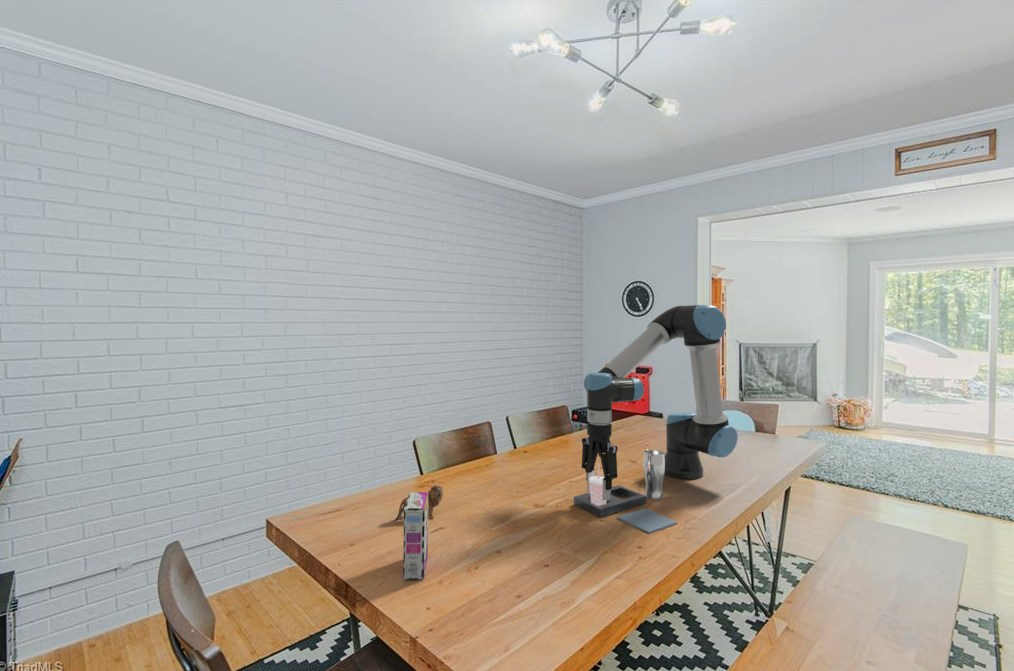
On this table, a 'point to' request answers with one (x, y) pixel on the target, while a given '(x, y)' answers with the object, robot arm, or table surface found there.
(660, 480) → the silver metal tumbler
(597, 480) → the beverage cup
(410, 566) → the candy bar box
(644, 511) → the slate mat
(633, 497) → the dark grey slotted frame
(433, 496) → the lion figurine
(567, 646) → the table surface
